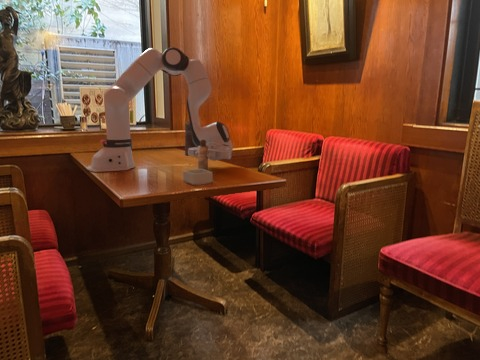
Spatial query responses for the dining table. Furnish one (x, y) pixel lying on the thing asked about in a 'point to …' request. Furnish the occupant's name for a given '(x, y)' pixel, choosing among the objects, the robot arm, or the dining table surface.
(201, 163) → the pepper mill
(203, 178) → the box
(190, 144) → the candle
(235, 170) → the dining table surface
